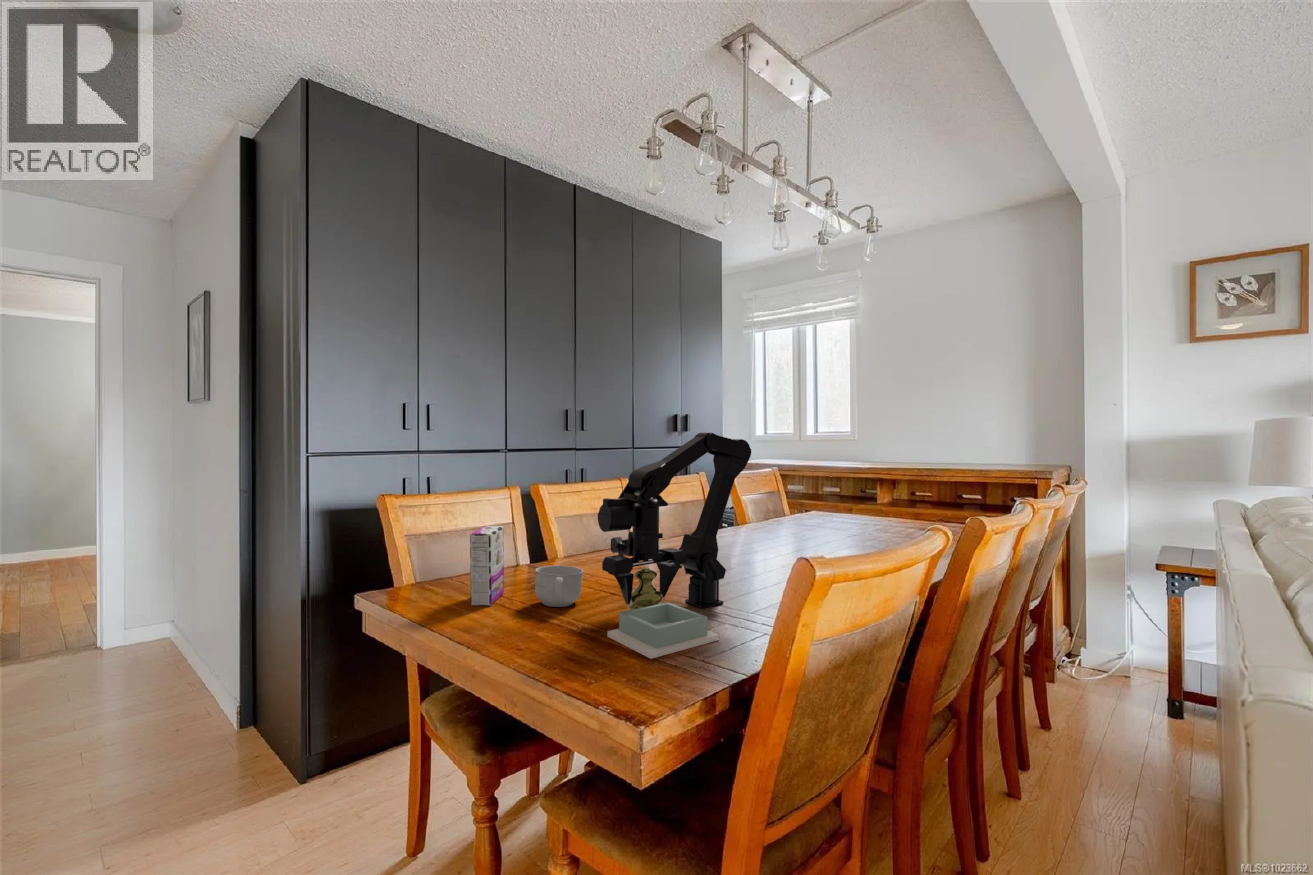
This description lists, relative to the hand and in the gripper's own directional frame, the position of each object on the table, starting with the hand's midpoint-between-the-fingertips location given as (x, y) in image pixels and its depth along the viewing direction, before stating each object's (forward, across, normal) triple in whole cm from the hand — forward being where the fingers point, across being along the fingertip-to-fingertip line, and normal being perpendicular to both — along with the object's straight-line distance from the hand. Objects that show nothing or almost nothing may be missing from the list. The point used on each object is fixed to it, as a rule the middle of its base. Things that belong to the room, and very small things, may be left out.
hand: (645, 600), depth 129 cm
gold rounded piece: (+3, 0, 0) cm, 3 cm away
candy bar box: (+3, +23, -31) cm, 39 cm away
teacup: (+3, +12, -17) cm, 21 cm away
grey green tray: (+3, +6, +14) cm, 16 cm away
